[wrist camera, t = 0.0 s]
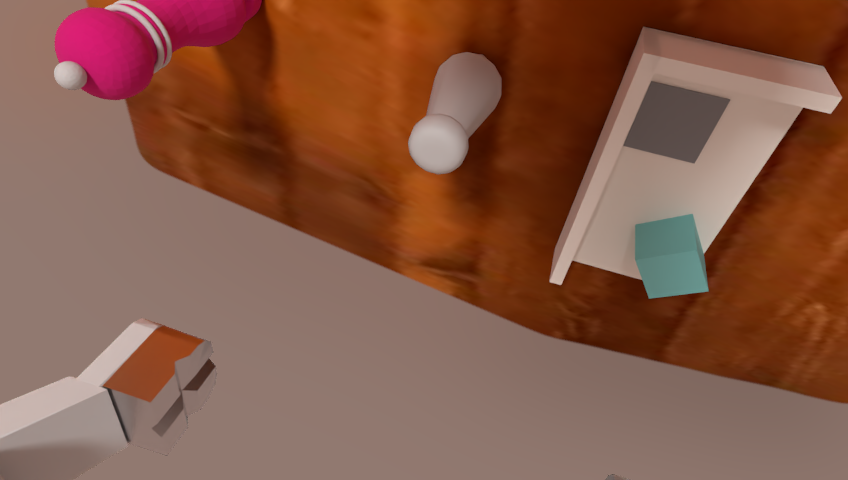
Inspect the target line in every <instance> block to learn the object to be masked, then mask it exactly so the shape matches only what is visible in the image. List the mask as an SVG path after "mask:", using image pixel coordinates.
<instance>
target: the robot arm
mask: <svg viewBox="0 0 848 480" xmlns="http://www.w3.org/2000/svg"><path fill="white" fill-rule="evenodd" d="M212 353H213V348H212V344H211V341H208V340H205V339H201V338H198V337H196V336H193V335H190V334H187V333H184V332H181V331H178V330H175V329H172V328H169V327H166V326H165V325H161V324H158V323H155V322H152V321H149V320H146V319H143V318H141V319H139V320H137V321H135V322H133V323H132V324H131V325H130V326H129V327H128V328H127V329H126V330H125V331H124V332H123V333H122V334H120V335H119V336H118V338H117V339H115V340H114V341H113V342H112V343H111V344H110V345H109V346H108V347H107V348H106V349H105V350H104V351H103V352H102V353H101V354H100V355H99V356H98V357H97V358H96V359H95V360H94V361H93V362H92V363H91V364H90V365H89V366H88V367H87V368H86V369H85V370H84V371H83V372H82V373H81V374H80V375H79V376H78V377H77V378H75V377H72V376H69V377H66V378H64V379H61V380H59V381H57V382H55V383H52V384H49V385H47V386H45V387H42V388H40V389H37V390H35V391H32V392H30V393H27V394H25V395H22V396H20V397H18V398H15V399H13V400H10V401H8V402H5V403H3V404H1V405H0V480H73V479H75V478H77V477H78V476H80V475H81V474H83V473H85V472H86V471H88V470H89V469H91V468H93V467H95V466H96V465H98V464H99V463H101V462H103V461H104V460H106V459H108V458H109V457H111V456H113V455H114V454H116V453H117V452H119V451H121V450H122V449H124V448H126V447H127V446H128V443H129V444H132V445H136V446H138V447H141V448H144V449H147V450H150V451H153V452H156V453H160V454H162V455H165V456H167V455H168V454H169V453H170V451H171V450H172V448H173V447H174V446H175V444H176V443H177V442H178V440H179V439H180V438H181V436H182V435H183V434H184V432H185V431H186V429H187V428H188V416H189V415H191V414H193V413H195V412H197V411H199V410H201V409H202V407H203V406H204V404H205V403H206V402H207V400H208V399H209V397H210V395H211V393H212V390H213V388H214V385H215V383H216V376H217V372H216V366H215V365H214V363H213V362H212V361H211V360H210V359H209V357H210V356H211V355H212ZM605 480H630V479H627V478H623V477H621V476H617V475H614V474H611V475H608V477H607V478H606V479H605Z"/></svg>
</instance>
